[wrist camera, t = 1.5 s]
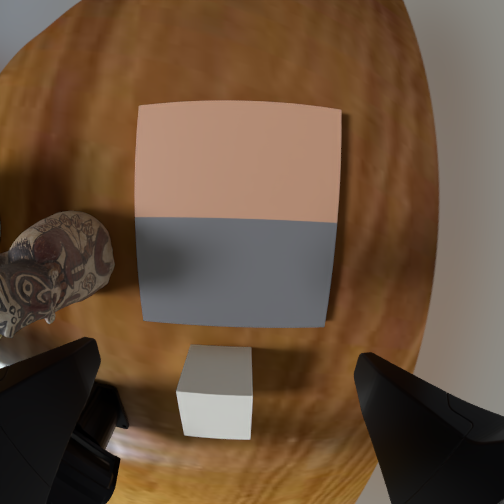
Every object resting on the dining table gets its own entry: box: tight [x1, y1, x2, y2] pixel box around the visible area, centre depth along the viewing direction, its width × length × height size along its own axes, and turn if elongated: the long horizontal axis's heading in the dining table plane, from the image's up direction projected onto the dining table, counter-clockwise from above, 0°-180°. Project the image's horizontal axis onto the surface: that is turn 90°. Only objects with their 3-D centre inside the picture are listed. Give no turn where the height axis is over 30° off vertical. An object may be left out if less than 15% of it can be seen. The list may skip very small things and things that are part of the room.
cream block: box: [176, 344, 253, 440], centre depth 20 cm, size 5×5×6 cm
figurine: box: [0, 211, 115, 338], centre depth 14 cm, size 7×7×12 cm
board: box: [135, 101, 341, 328], centre depth 19 cm, size 16×14×1 cm
